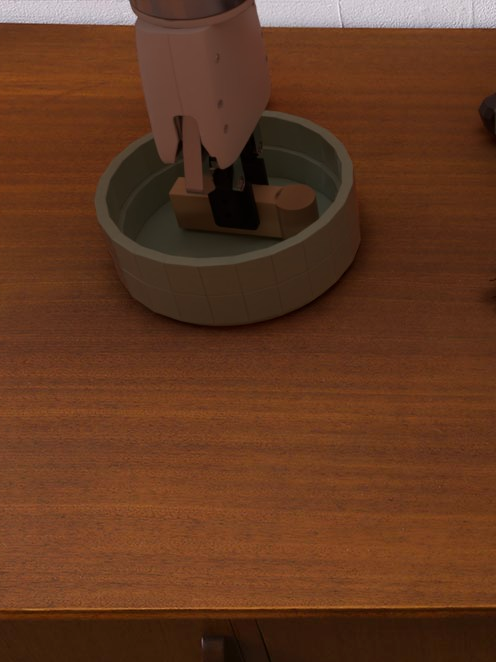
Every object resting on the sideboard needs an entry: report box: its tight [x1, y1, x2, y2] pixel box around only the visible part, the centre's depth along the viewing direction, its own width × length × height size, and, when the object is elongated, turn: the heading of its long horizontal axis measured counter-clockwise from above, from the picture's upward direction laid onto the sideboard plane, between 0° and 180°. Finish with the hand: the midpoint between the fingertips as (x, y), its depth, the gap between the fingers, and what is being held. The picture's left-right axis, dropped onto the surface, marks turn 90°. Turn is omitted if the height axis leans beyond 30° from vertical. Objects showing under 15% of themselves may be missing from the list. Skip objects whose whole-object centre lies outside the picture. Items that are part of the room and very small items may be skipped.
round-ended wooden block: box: [169, 177, 320, 240], centre depth 73 cm, size 10×3×3 cm, turn 82°
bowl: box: [93, 109, 362, 327], centre depth 72 cm, size 18×18×6 cm
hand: (244, 212), depth 73 cm, fingers closed on round-ended wooden block, 2 cm apart
